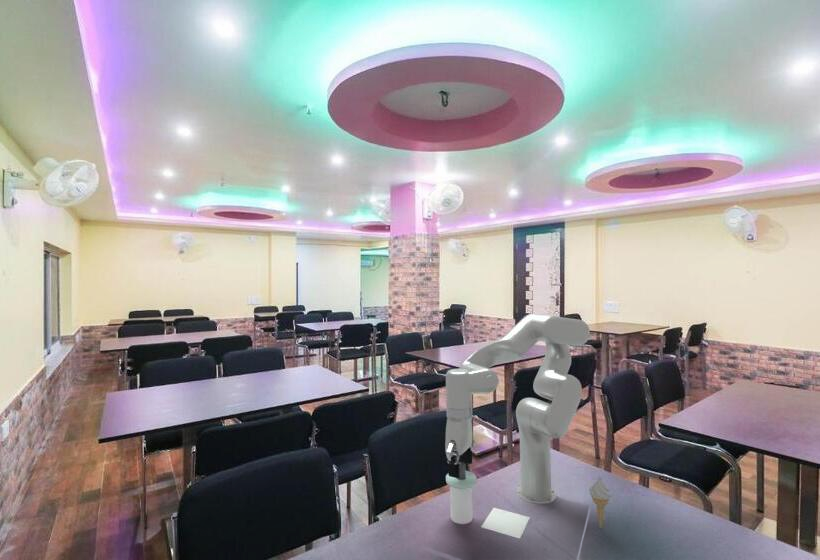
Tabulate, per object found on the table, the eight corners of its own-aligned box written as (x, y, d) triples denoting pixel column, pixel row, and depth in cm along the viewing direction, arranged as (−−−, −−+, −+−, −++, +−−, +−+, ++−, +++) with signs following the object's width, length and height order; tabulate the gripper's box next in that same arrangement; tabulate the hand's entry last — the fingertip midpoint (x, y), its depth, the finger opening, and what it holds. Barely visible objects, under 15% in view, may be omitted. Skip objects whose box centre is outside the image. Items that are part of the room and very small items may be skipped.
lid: (453, 471, 126) (452, 455, 126) (480, 477, 121) (480, 460, 121) (440, 484, 118) (440, 467, 118) (470, 491, 113) (469, 473, 113)
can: (472, 528, 116) (471, 486, 116) (449, 526, 117) (448, 484, 117) (473, 515, 122) (472, 475, 122) (451, 513, 124) (450, 474, 124)
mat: (493, 510, 125) (493, 507, 125) (529, 520, 119) (529, 517, 119) (481, 530, 115) (481, 526, 115) (519, 542, 110) (519, 538, 109)
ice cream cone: (610, 524, 116) (609, 472, 116) (613, 536, 111) (612, 481, 111) (589, 521, 118) (588, 470, 118) (591, 532, 113) (589, 479, 113)
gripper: (459, 402, 129) (460, 455, 129) (434, 419, 114) (436, 479, 114) (481, 405, 125) (483, 460, 125) (459, 423, 110) (461, 486, 110)
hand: (460, 469), depth 120 cm, fingers open, 9 cm apart
